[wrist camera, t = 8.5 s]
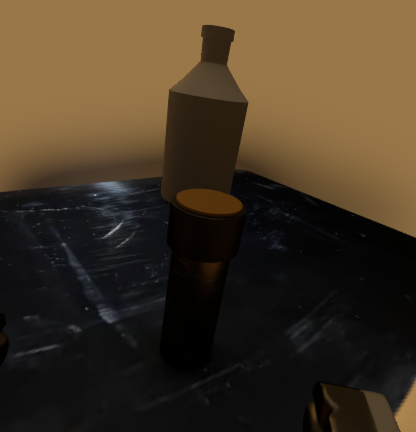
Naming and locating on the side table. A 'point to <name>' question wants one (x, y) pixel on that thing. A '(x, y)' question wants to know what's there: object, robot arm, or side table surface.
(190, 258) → the torch
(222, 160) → the bottle
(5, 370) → the side table surface
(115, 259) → the side table surface
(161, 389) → the side table surface
